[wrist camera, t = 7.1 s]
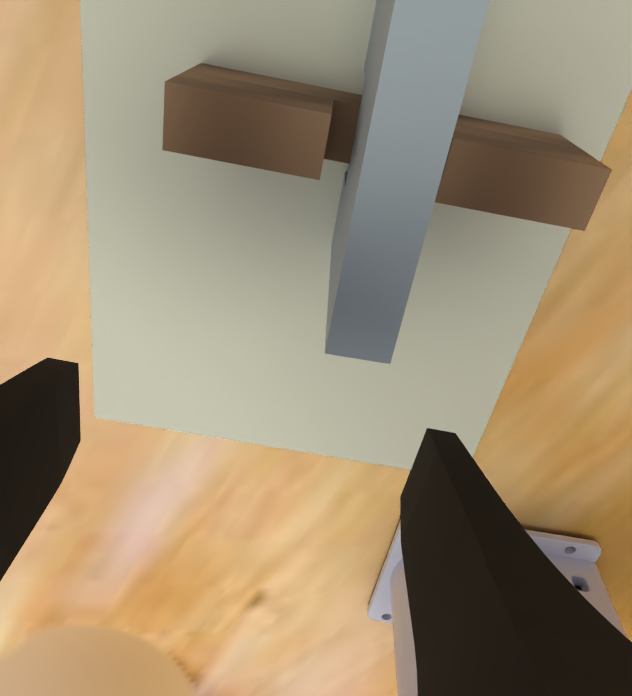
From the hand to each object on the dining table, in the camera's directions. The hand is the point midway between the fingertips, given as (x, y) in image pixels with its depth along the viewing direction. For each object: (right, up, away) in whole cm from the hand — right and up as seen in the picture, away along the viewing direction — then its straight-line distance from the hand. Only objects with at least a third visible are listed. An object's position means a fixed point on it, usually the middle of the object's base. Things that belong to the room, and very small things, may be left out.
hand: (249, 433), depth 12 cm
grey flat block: (+3, +9, +6) cm, 11 cm away
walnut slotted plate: (+3, +9, +6) cm, 11 cm away
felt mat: (+2, +6, +8) cm, 10 cm away
